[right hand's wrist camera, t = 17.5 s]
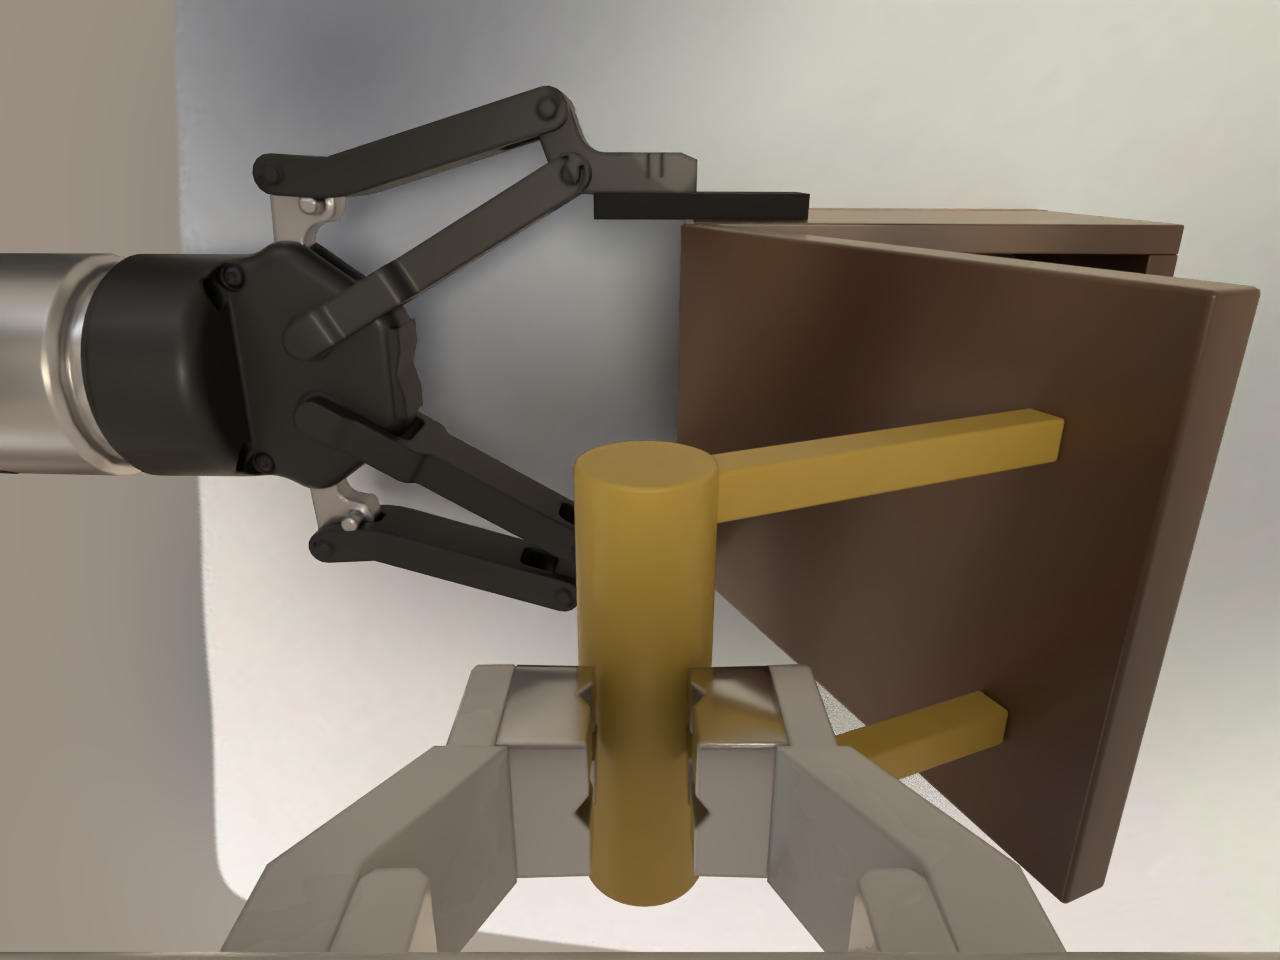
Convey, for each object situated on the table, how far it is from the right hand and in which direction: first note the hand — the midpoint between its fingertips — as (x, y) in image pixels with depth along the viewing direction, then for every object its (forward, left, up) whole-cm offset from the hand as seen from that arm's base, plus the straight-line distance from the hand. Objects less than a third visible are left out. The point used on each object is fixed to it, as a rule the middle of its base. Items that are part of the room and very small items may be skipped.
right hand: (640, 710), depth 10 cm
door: (-2, -4, -9) cm, 10 cm away
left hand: (-2, -4, -19) cm, 19 cm away
